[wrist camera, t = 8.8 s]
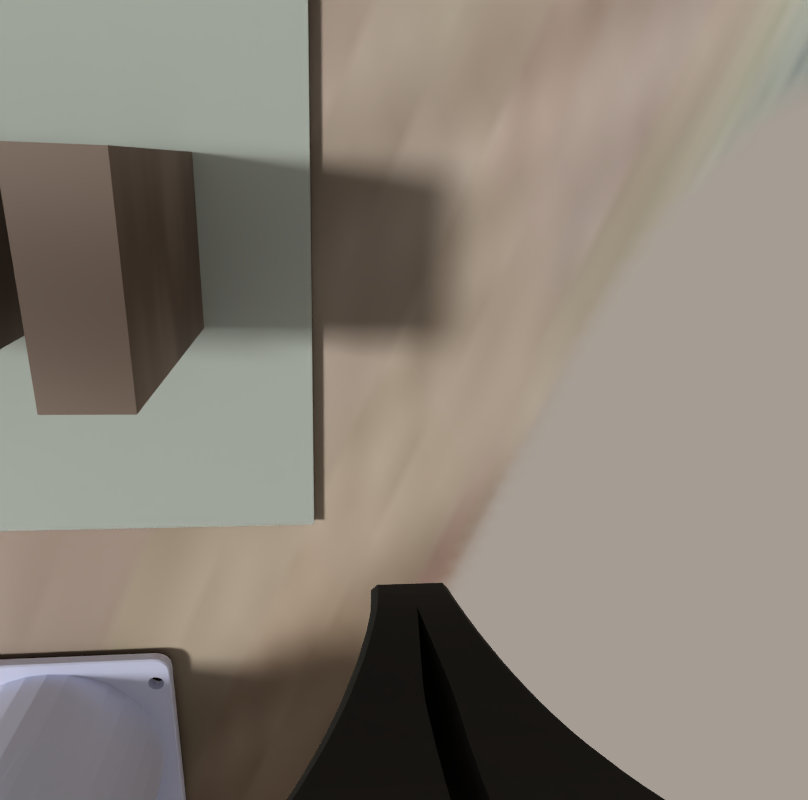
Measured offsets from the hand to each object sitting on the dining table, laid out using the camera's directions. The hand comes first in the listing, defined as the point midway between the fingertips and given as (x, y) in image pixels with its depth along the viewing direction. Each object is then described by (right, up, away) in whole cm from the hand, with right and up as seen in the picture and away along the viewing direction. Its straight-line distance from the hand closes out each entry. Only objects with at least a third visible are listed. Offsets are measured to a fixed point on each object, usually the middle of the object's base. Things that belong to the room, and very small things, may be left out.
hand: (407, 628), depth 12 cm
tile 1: (-7, +9, +6) cm, 12 cm away
